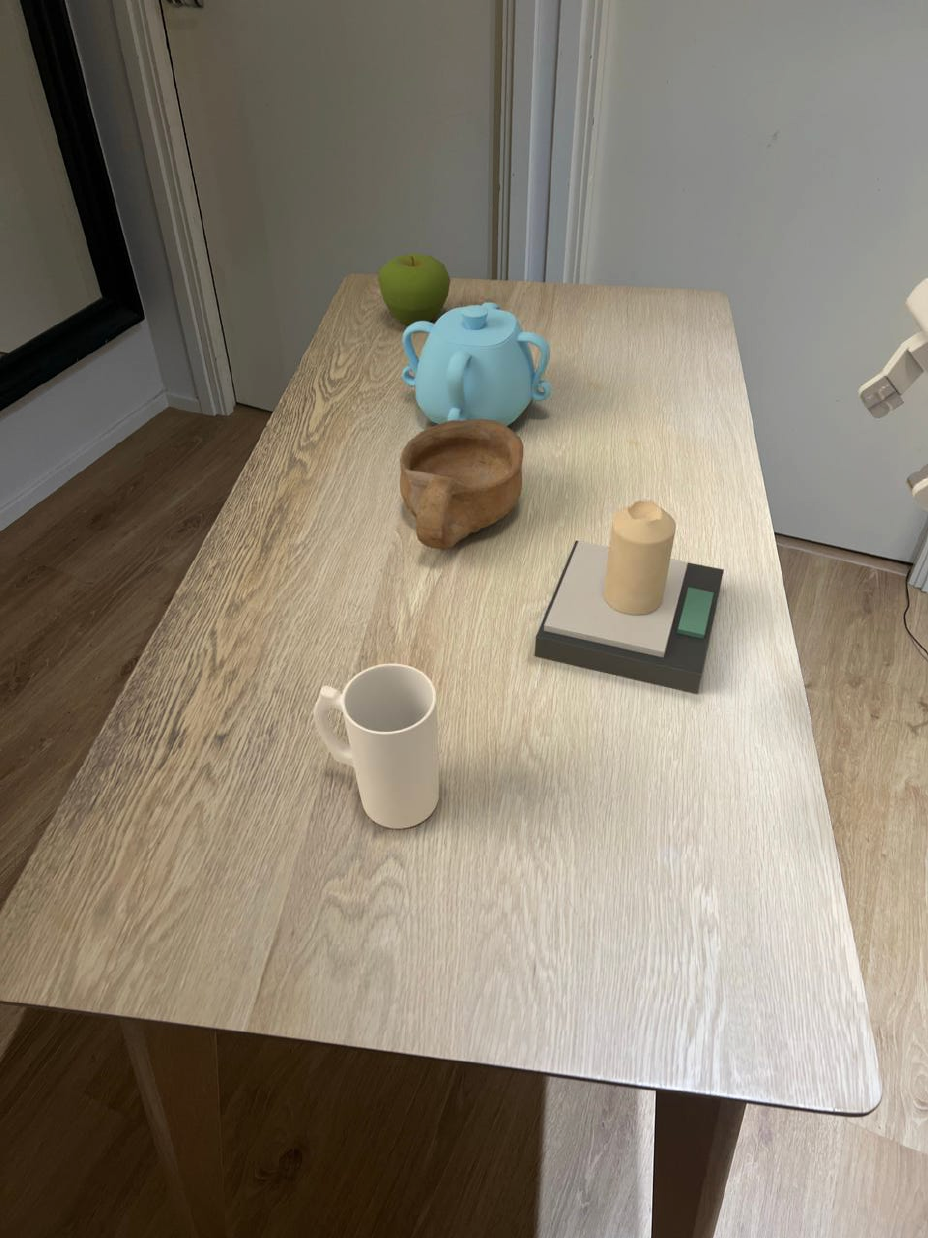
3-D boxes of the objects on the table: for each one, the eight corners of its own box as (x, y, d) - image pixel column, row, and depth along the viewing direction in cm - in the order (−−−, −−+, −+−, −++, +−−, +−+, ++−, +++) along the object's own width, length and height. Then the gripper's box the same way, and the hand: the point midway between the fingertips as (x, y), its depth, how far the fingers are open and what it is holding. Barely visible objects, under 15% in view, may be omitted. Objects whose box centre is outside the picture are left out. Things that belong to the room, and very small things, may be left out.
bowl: (537, 564, 90) (511, 485, 83) (407, 589, 93) (373, 515, 87) (537, 464, 103) (515, 389, 96) (423, 490, 106) (394, 419, 100)
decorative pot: (560, 427, 112) (567, 324, 102) (442, 456, 107) (438, 351, 98) (506, 371, 123) (508, 273, 113) (396, 394, 118) (389, 295, 109)
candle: (663, 618, 81) (679, 531, 74) (602, 613, 82) (612, 526, 75) (662, 579, 85) (677, 493, 78) (604, 574, 86) (614, 489, 79)
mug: (455, 776, 73) (450, 677, 64) (422, 843, 68) (413, 745, 60) (345, 743, 75) (328, 643, 67) (307, 805, 71) (283, 706, 63)
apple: (441, 340, 130) (438, 273, 123) (372, 334, 132) (366, 267, 125) (458, 309, 137) (457, 244, 130) (393, 303, 139) (388, 239, 132)
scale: (719, 588, 89) (725, 562, 87) (697, 694, 79) (703, 668, 76) (574, 558, 93) (576, 533, 91) (534, 656, 83) (535, 630, 80)
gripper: (1039, 161, 49) (815, 328, 56) (1260, 326, 34) (918, 524, 42) (1085, 243, 52) (866, 392, 59) (1308, 428, 37) (979, 597, 44)
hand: (888, 448), depth 50 cm, fingers open, 8 cm apart
